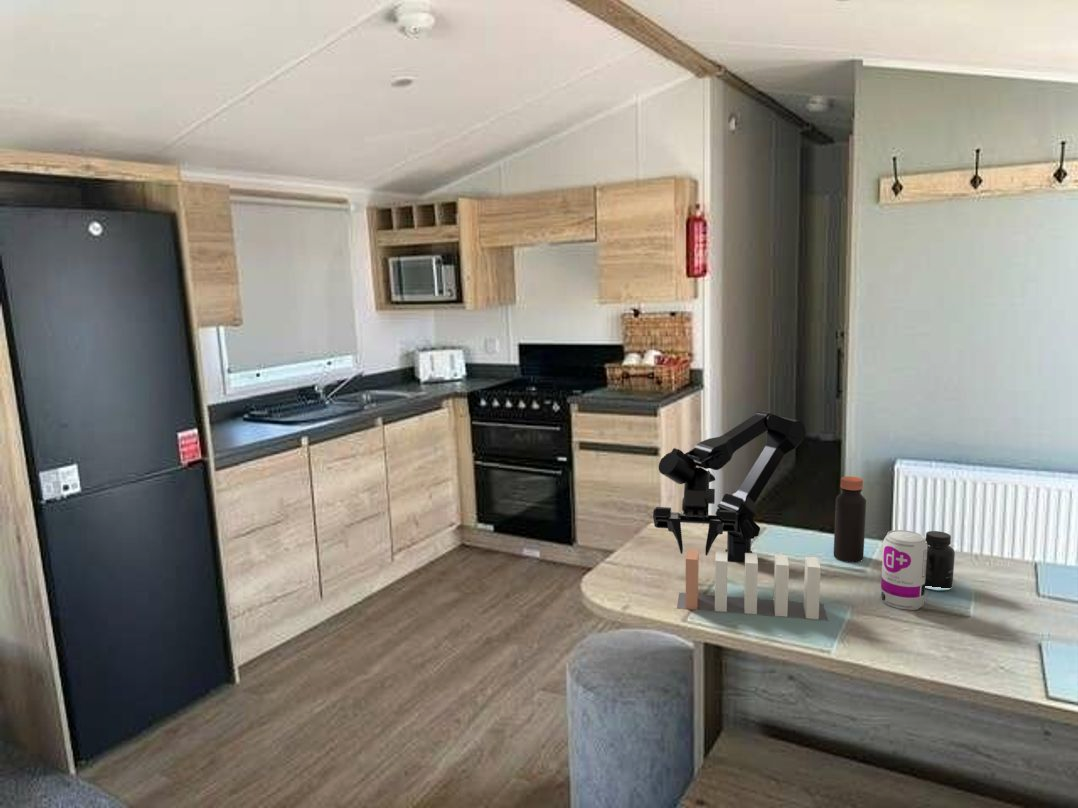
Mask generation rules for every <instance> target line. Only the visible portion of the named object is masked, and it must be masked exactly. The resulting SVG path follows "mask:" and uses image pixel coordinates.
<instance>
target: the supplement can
mask: <svg viewBox="0 0 1078 808" xmlns="http://www.w3.org/2000/svg"><path fill="white" fill-rule="evenodd" d="M882 543H883V544H882V557H881V558H882V561H881V581H880V596H879V598H880V599H881V601H882V602H884V603H885V604H886V605H888V606H890V607H892V608H896V609H899V610H911V611H917V610H919V609H920V608H922V607H924V603H925V591H926V588H925V576H926V561H927V542H926V541H925V536H924V535H923V534H921V533H919V532H916V531H911V530H904V529H897V530H894V529H893V530H889V531H888V532H887V534H886V536H885V537H884V539H883V542H882Z"/></svg>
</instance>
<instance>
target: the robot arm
mask: <svg viewBox="0 0 1078 808" xmlns="http://www.w3.org/2000/svg"><path fill="white" fill-rule="evenodd" d="M765 432H766V444H765V446H764V447H763V450H762V451H761V452H760V454H759V456H758V457H757V459H756V461H755V462H754V464H753V465H752V467H751V469H750V470H749V472H748V473H747V475H746V477H745V478H744V480H743V482H742V483H741V485H740V486H739V488H738V490H737V491H736V492H734V493H732V494H731V493H728V492H726V493H725V494H724V495H723V497H722V499H721V500H720V502H719V503H718V504H717V505H716V507H717V509H716V511H715V515H711V514H709V505H710V504H712V505H714V504H715V499H716V498H715V497H716V495H715V494H716V490H715V488H710V483H712V482H714V481H716V477H715V476H714V475H713V474H712V473H711V471H710V470H712V471H718V470H721V469H723V468H724V467H725V466H726V465H727V464H728V463H729V462H730V461H731V460H732V458H733V455H734V453H736V452H737V451H738V450H739V449H741V448H742V447H744V446H745V445H747V444H748V443H749V444H750V442H751V441H753V440H755V439H756V438H758V437H760V436H761V435H762V434H764V433H765ZM806 433H807V432H806V427H805V424H804V422H803V421H801V420H798V419H792V418H788V417H785V416H784V417H783V416H779V415H776V414H775V413H773V412H768V411H764V410H759V411H756V412H755V413H753V414H752V416H750V417H749V418H747V419H746V420H745V421H742V422H741V423H739V424H738V425H737V426H735V427H732V429H730V430H729V431H726V433H724V434H722V435H720V436H716V437H711V438H707V439H705V440H703V441H699V442H698V443H697V444H695V446H694V448H692V449H691V450H689V451H687V452H685V453H684V451H682V450H681V449H678V448H676V447H673V448H672V450H671V451H670V452H668V453H666V454H665V455H664V456H663V457H662V458H661V459H660V460H659V464H658V471H659V473H660V474H661V475H663V476H665V477H667V479H669V480H671V481H673V482H674V483H676V484H678V485H683V498H682V504H681V505H682V506H681V510H682V513H679V512H677V511H676V512H675V511H674V512H673V511H672V507H669V506H668V507H666V506H665V507H664V506H663V507H662V506H656V507H655V508H654V509H653V513H652V514H653V515H652V519H653V525H654V528H657V529H667V531H668V532H672V533H673V536H674V538H675V539H676V540H675V541H676V543H677V546H678V549H679V552H680V554H681V555H683V552H684V551H683V550H684V548H683V545H684V544H683V535H682V525H681V523H686V524H687V523H688V524H689V523H690V524H705V525H708V531H707V536H706V537H707V538H706V542H705V555H704V556H708V554H709V552H710V551H711V549H712V548H711V547H712V545H713V543H714V542H715V540H716V538H717V537H718V536H720V535H723V532H726V533H727V534H726V535H727V536H726V537H727V538H726V539H727V540H726V541H727V543H726V547H727V548H726V549H725V551H724V552H728V557H727V561H732V562H733V561H734V562H745V553H753V550H752V540H753V539H755V538H756V537H759V535H760V531H761V527H760V526H759V525H758V524H757V523H756V522H755V521H754V518H755V515H756V502H757V501H758V499H759V496H760V495H761V494H762V492H763V490H764V488H766V486H767V484H768V482H769V481H770V479H771V477H772V475H773V474H774V472H775V471H776V469H777V467H778V466H779V464H780V463H781V462H782V460H783V458H784V457H785V455H787V454H788V453H790V452H792V451H794V450H796V448H797V447H798V446H799V445H800V444H801V443H802V441H803V440H804V439H805V438H806V437H805V436H806ZM706 469H710V470H706Z"/></svg>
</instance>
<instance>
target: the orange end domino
mask: <svg viewBox="0 0 1078 808" xmlns="http://www.w3.org/2000/svg"><path fill="white" fill-rule="evenodd" d="M699 552H700V549H688V548H687V551H686V554H685V555H686V557H685V593H686V609H685V610H690V609H696V610H695V611H698V610H697V606H698V594H699V572H700V571H699V567H700V565H699V559H700V558H699Z"/></svg>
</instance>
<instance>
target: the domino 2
mask: <svg viewBox="0 0 1078 808" xmlns="http://www.w3.org/2000/svg"><path fill="white" fill-rule="evenodd" d="M758 559H759V558H758V553H753V552H752V553H745V561H744V583H743V584H744V586H743V589H744V590H743V591H744V592H743V593H744V594H743V598H744V611H745V613H747V614H746V615H751V614H757V599H758V580H759V579H758V578H759V577H758V575H759V573H758V572H759V561H758Z"/></svg>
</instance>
